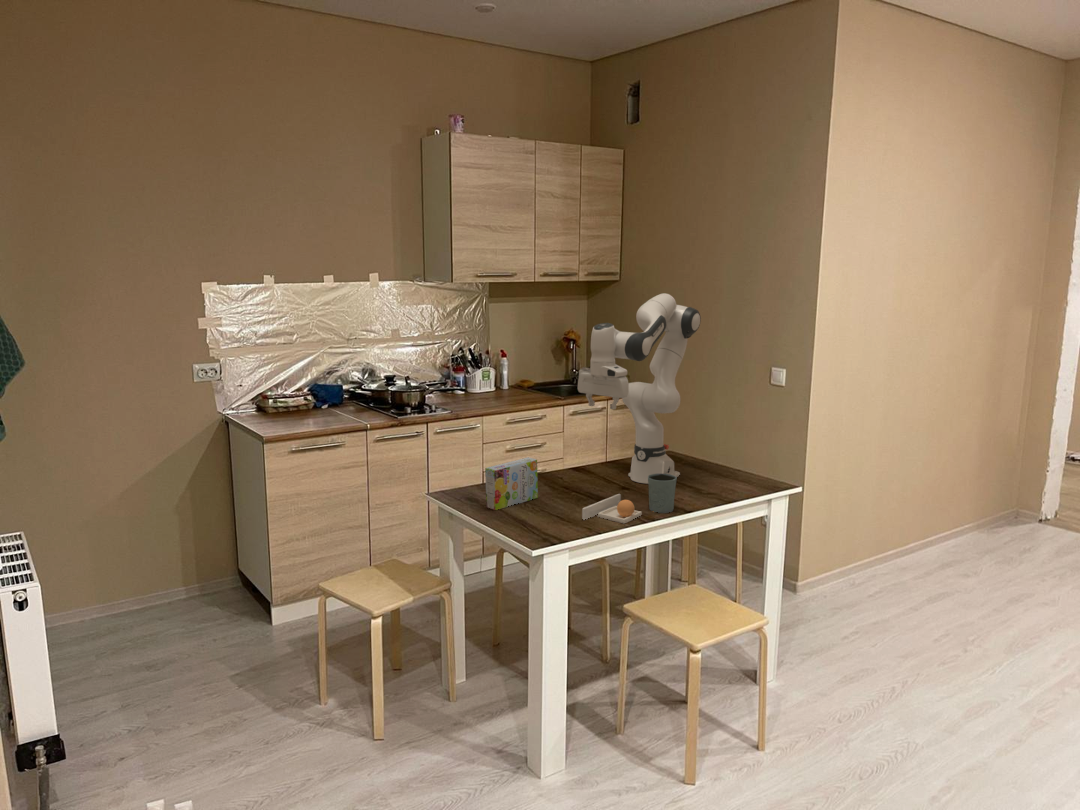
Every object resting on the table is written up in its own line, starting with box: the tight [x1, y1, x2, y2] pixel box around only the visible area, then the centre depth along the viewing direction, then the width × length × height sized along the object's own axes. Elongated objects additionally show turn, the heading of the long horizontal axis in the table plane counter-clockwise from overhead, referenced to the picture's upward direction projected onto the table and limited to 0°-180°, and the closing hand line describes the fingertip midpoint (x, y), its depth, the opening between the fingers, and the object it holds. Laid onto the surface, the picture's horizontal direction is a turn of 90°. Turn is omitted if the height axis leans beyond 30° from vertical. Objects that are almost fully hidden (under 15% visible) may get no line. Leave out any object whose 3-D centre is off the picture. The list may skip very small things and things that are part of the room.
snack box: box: [484, 457, 539, 511], centre depth 294 cm, size 21×6×15 cm, turn 134°
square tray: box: [597, 506, 643, 525], centre depth 280 cm, size 11×11×1 cm
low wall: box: [581, 493, 622, 521], centre depth 284 cm, size 22×1×4 cm, turn 141°
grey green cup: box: [647, 474, 678, 514], centre depth 286 cm, size 10×10×12 cm
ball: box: [617, 499, 635, 517], centre depth 278 cm, size 6×6×6 cm
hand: (602, 407), depth 290 cm, fingers open, 8 cm apart
